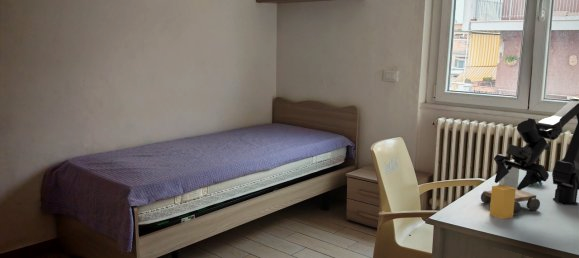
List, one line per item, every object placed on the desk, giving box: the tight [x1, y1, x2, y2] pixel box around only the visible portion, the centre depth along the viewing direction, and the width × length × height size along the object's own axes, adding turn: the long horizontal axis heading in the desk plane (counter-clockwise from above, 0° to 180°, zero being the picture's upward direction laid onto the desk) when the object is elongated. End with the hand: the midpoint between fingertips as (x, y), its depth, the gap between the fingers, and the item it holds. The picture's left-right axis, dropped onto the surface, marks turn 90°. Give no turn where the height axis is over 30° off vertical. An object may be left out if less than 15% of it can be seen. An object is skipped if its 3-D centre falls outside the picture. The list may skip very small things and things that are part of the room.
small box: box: [498, 159, 520, 189], centre depth 205 cm, size 8×6×10 cm
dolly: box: [480, 189, 541, 215], centre depth 180 cm, size 14×14×5 cm
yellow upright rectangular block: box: [489, 184, 516, 220], centre depth 170 cm, size 6×5×10 cm
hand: (506, 185), depth 169 cm, fingers open, 9 cm apart
